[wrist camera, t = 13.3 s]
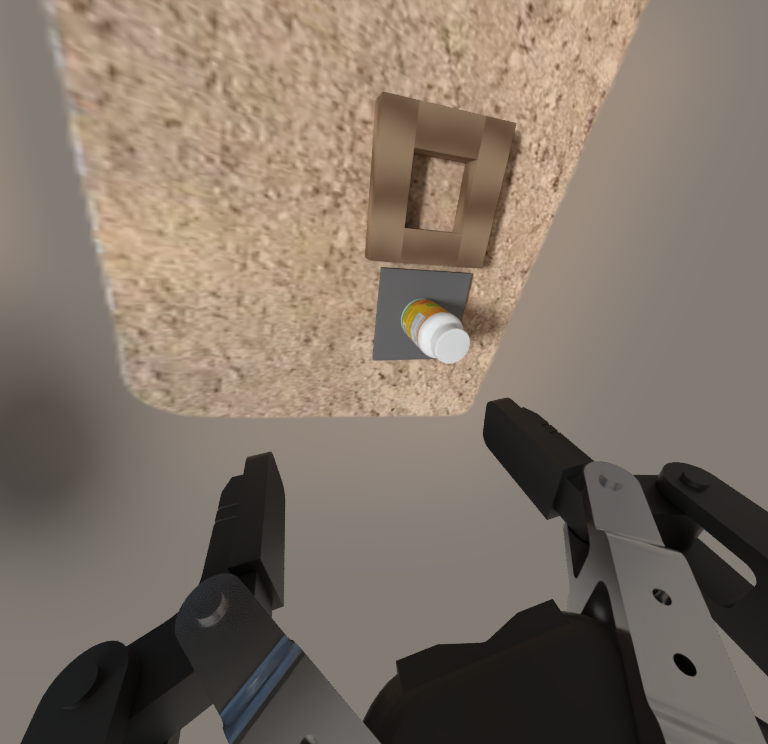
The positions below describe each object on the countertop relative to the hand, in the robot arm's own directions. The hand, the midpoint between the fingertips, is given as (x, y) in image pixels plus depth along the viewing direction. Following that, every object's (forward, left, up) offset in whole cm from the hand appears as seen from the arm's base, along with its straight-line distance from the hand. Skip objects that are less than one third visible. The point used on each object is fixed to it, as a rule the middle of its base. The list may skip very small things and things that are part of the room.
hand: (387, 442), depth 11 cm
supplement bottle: (+4, +13, -28) cm, 31 cm away
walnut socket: (-10, +12, -28) cm, 32 cm away
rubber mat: (+4, +13, -28) cm, 31 cm away
